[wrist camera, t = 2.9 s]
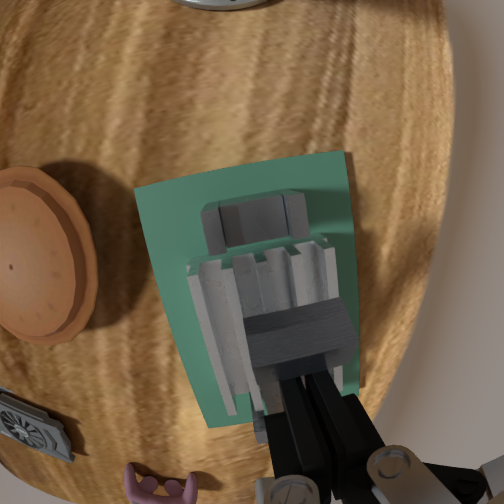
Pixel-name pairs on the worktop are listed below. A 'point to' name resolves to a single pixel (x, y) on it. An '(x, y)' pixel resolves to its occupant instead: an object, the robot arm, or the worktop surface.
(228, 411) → the heat sink
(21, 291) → the pie
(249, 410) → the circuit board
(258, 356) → the grey lever rod
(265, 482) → the power adapter
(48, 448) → the graphics card
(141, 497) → the video game controller
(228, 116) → the worktop surface
